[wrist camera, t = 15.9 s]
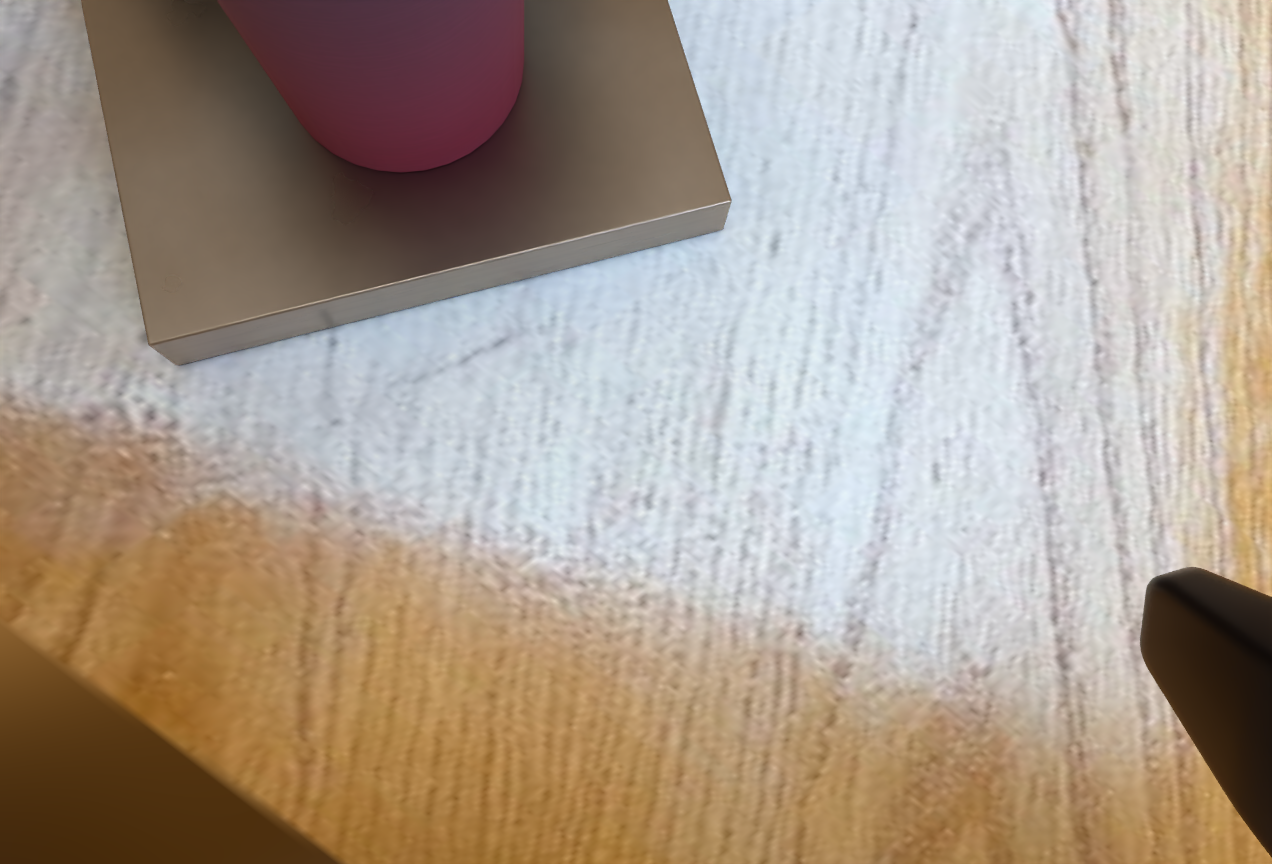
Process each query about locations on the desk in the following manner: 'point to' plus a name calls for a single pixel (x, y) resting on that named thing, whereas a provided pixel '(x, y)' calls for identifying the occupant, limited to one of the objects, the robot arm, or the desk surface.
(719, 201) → the grey tray
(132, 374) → the desk surface
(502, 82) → the cup
